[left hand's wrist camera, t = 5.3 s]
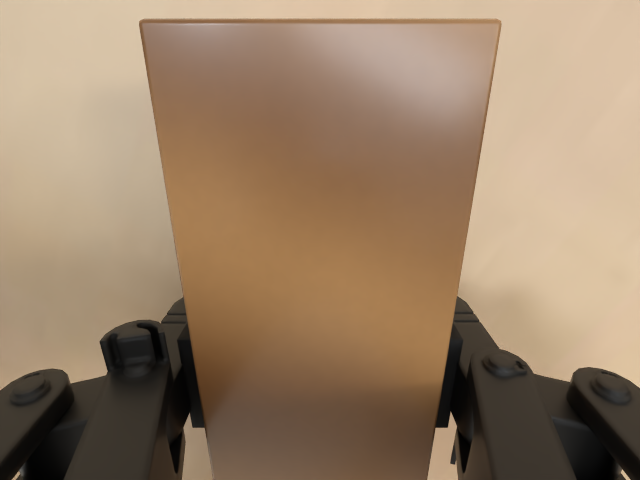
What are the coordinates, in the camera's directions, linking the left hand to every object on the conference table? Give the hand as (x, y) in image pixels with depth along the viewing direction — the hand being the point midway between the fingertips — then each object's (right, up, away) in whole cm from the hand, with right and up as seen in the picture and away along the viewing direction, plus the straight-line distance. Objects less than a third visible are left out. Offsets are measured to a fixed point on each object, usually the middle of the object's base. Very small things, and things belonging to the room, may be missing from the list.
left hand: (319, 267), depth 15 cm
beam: (0, -31, +13) cm, 34 cm away
